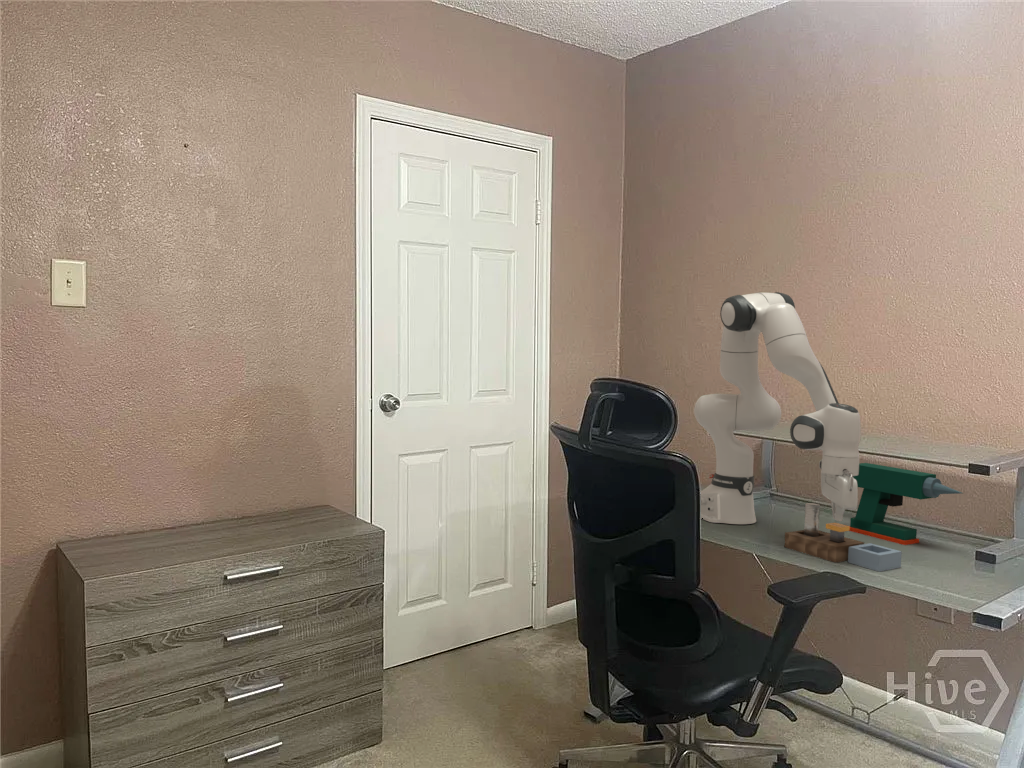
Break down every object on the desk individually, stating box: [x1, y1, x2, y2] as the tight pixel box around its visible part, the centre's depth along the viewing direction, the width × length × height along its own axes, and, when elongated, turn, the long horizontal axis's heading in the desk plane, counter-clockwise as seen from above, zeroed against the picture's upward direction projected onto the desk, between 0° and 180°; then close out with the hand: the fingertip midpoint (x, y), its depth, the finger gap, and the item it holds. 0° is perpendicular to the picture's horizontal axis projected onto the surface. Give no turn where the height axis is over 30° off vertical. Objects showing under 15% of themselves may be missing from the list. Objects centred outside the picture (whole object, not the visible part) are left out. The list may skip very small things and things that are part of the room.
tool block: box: [784, 529, 865, 564], centre depth 204 cm, size 16×11×4 cm
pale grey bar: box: [803, 502, 821, 537], centre depth 207 cm, size 4×4×12 cm
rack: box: [847, 543, 903, 573], centre depth 193 cm, size 9×9×4 cm
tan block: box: [825, 522, 850, 543], centre depth 200 cm, size 4×4×5 cm
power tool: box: [848, 462, 963, 546], centre depth 217 cm, size 32×7×20 cm, turn 30°
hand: (837, 520), depth 199 cm, fingers closed
